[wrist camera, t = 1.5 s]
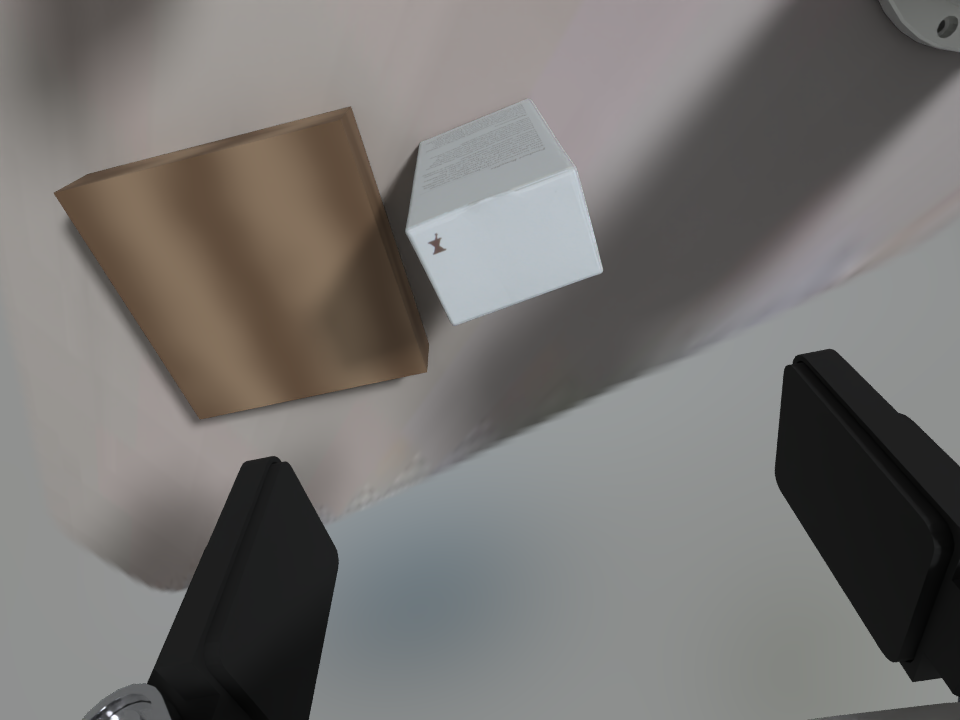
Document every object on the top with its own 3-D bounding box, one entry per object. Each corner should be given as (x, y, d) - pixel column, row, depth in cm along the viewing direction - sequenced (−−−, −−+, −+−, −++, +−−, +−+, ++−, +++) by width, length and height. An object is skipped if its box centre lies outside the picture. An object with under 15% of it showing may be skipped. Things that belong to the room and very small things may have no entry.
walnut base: (350, 106, 28) (340, 119, 26) (428, 344, 36) (427, 372, 33) (87, 174, 30) (53, 192, 27) (216, 389, 37) (199, 419, 35)
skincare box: (450, 217, 32) (447, 331, 22) (418, 140, 29) (398, 228, 19) (558, 176, 30) (607, 276, 21) (533, 94, 28) (575, 160, 18)
